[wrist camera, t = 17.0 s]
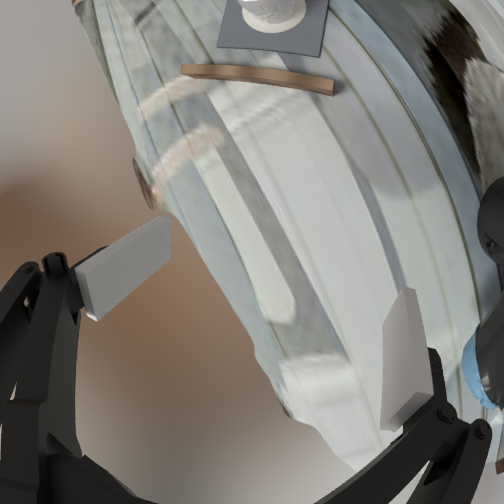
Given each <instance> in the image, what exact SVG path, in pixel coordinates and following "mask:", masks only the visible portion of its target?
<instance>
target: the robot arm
mask: <svg viewBox="0 0 504 504" xmlns="http://www.w3.org/2000/svg"><path fill="white" fill-rule="evenodd" d="M477 230H478V237H479V241H480V244H481V246H482V248H483V250H484V251H485V253H486V254H487V255H488V256H489V257H490V258H491V259H492V260H493V261H494V262H496V263H497V264H499V265H502V266H504V177H502V178H500V179H498V180H497V181H495V182H494V183H493V184H492V185H491V186H490V187H489V189H488V190H487V192H486V193H485V195H484V197H483V199H482V202H481V205H480V208H479V212H478V220H477ZM168 260H170V218H169V217H165V216H162V215H159V216H157V217H156V218H154V219H152V220H150V221H149V222H147V223H145V224H144V225H142V226H140V227H139V228H137V229H135V230H134V231H132V232H130V233H129V234H127V235H125V236H124V237H122V238H120V239H119V240H117V241H116V242H114V243H113V244H111V245H108V246H105V247H102V248H100V249H98V250H96V251H95V252H93V254H90V255H89V256H87V257H86V258H84V259H83V260H81V261H79V262H78V263H76V264H75V265H74V266H72V267H71V268H69V267H68V263H67V259H66V255H65V254H64V253H61V252H54V253H50V254H48V255H46V256H45V257H44V258H43V259H42V260H41V261H42V264H43V268H44V272H42V271H40V268H39V265H38V263H36V262H26V263H25V264H23V265H21V266H20V267H19V268H18V270H17V271H16V272H15V273H14V274H13V276H12V277H11V278H10V280H9V281H8V282H7V283H6V285H5V286H4V287H3V289H2V290H1V292H0V426H1V424H2V433H1V460H0V504H157V503H154V502H151V501H147V500H144V499H141V498H138V497H137V496H136V495H135V494H134V493H133V492H132V491H131V490H130V489H129V488H128V487H127V486H125V485H124V484H123V483H121V482H120V481H119V480H118V479H116V478H115V477H114V476H113V475H111V474H110V473H109V472H108V471H106V470H105V469H103V468H102V467H101V466H99V465H98V464H96V463H95V462H94V461H92V460H91V459H90V458H88V457H87V456H86V455H84V456H83V457H82V452H81V448H80V445H79V442H78V440H77V436H76V428H75V426H76V425H75V380H76V379H75V378H76V362H77V349H78V338H79V329H80V321H81V312H80V309H81V308H83V307H85V310H86V314H87V316H89V317H90V318H92V319H94V320H95V321H97V322H98V321H99V320H100V319H101V318H102V317H103V316H104V315H106V314H107V313H108V312H109V311H110V310H111V309H112V308H113V307H114V306H116V305H117V304H118V303H119V302H120V301H121V300H122V299H124V298H125V297H126V296H127V295H128V294H129V293H131V292H132V291H133V290H134V289H135V288H136V287H138V286H139V285H140V284H141V283H142V282H143V281H144V280H146V279H147V278H148V277H149V276H150V275H152V274H153V273H154V272H155V271H156V270H158V269H159V268H160V267H161V266H162V265H164V264H165V263H166V262H167V261H168ZM25 299H27V301H28V305H27V306H25V305H24V301H25ZM382 332H383V381H382V404H381V418H380V429H383V430H389V431H395V432H396V431H397V430H398V429H399V428H400V427H401V426H402V425H403V433H402V434H401V435H400V436H399V437H397V438H396V439H395V440H394V441H393V442H391V443H390V445H389V446H388V447H387V448H386V449H385V450H384V451H383V452H382V453H380V454H379V455H378V456H377V457H376V458H375V459H374V460H372V461H371V462H370V463H369V464H368V465H366V466H365V467H364V468H363V469H362V470H360V471H359V472H358V473H357V474H355V475H354V476H353V477H352V478H350V479H349V480H347V481H346V482H345V483H343V484H342V485H341V486H339V487H338V488H336V489H335V490H334V491H332V492H331V493H329V494H328V495H326V496H325V497H323V498H322V499H320V500H319V501H317V502H316V503H314V504H388V503H389V502H390V501H391V500H392V499H393V498H395V497H396V495H398V494H399V493H400V492H401V491H402V489H404V487H405V486H406V485H407V484H408V483H409V482H410V481H411V480H412V479H413V478H414V477H415V476H416V475H417V474H418V472H419V471H420V470H421V469H422V468H423V467H424V466H425V464H426V463H427V462H428V461H430V462H429V464H428V466H427V468H426V470H425V472H424V474H423V475H422V477H421V479H420V481H419V483H418V485H417V486H416V488H415V490H414V492H413V493H412V495H411V497H410V498H409V500H408V501H407V503H406V504H471V501H472V499H473V496H474V494H475V491H476V489H477V486H478V483H479V480H480V477H481V475H482V472H483V468H484V465H485V462H486V459H487V455H488V452H489V448H490V444H491V440H492V429H491V427H490V425H489V423H488V422H487V421H485V420H483V419H476V420H475V421H474V422H472V423H471V424H469V423H467V422H465V421H462V420H460V419H459V418H457V412H456V409H455V408H454V407H453V405H451V404H450V403H449V402H447V395H446V388H445V381H444V376H443V369H442V363H441V358H440V356H439V354H438V353H437V351H436V349H433V348H429V347H427V342H426V337H425V332H424V327H423V322H422V317H421V312H420V308H419V304H418V299H417V295H416V291H415V289H412V288H408V287H405V286H402V288H401V290H400V292H399V294H398V296H397V298H396V300H395V302H394V304H393V306H392V308H391V310H390V312H389V314H388V316H387V318H386V320H385V321H384V323H383V325H382ZM462 367H463V372H464V376H465V379H466V381H467V384H468V386H469V388H470V390H471V392H472V394H473V395H474V397H475V398H476V399H479V400H480V403H481V405H483V406H484V407H486V408H488V409H495V408H498V407H499V408H500V410H501V412H502V413H503V414H504V290H503V292H502V293H501V295H500V296H499V298H498V299H497V301H496V302H495V304H494V305H493V307H492V308H491V310H490V311H489V313H488V314H487V315H486V317H485V318H484V319H483V321H482V322H481V323H480V324H479V325H478V326H477V327H476V329H475V332H474V334H473V335H472V337H471V338H470V339H469V341H468V342H467V343H466V345H465V347H464V350H463V356H462ZM16 382H17V384H16ZM15 385H16V391H15V397H14V399H13V400H10V398H11V395H12V393H13V390H14V387H15Z"/></svg>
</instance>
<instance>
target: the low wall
mask: <svg viewBox="0 0 504 504" xmlns="http://www.w3.org/2000/svg"><path fill="white" fill-rule="evenodd" d="M180 74H183V75H186V76H189V77H192V78H195V79H217V80H231V81H242V82H251V83H260V84H268V85H275V86H281V87H288V88H293V89H299V90H304V91H310V92H314V93H319V94H324V95H328V96H333V92H334V80H331V79H326V78H321V77H316V76H311V75H306V74H300V73H294V72H288V71H281V70H273V69H265V68H256V67H245V66H231V65H205V64H182V65H181V70H180Z"/></svg>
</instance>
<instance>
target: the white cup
mask: <svg viewBox="0 0 504 504" xmlns="http://www.w3.org/2000/svg"><path fill="white" fill-rule="evenodd" d="M236 1H237V2H238V3H239V4H240V5H241V6H242V7H243V8H245V9H246V10H247V11H248V12H249V13H250V14H251V15H253V16H254V17H255V18H256V19H257V20H259V21H260V22H262V23H266V24H277V23H281V22H283V21H285V20H287V19H289V18H290V16H291V15H292V14H293V13H294V8H295V4H294V0H236Z"/></svg>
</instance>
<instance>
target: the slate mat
mask: <svg viewBox="0 0 504 504" xmlns="http://www.w3.org/2000/svg"><path fill="white" fill-rule="evenodd" d="M294 4H295V8H294V13H293V14H292V15H291V16H290V18H289V19H287V20H285V21H283V22H281V23H277V24H266V23H262V22H260V21H259V20H257V19H256V18H255V17H254V16H253V15H251V14H250V13H249V12H248V11H247V10H246V9H245V8H243V7H242V6H241V5H240V4H239V3H238V2H237V1H236V0H227V4H226V8H225V12H224V16H223V21H222V25H221V29H220V34H219V38H218V43H217V48H238V49H254V50H266V51H276V52H284V53H291V54H298V55H305V56H311V57H316V58H319V54H320V48H321V42H322V37H323V31H324V25H325V19H326V13H327V6H328V0H294Z"/></svg>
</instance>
